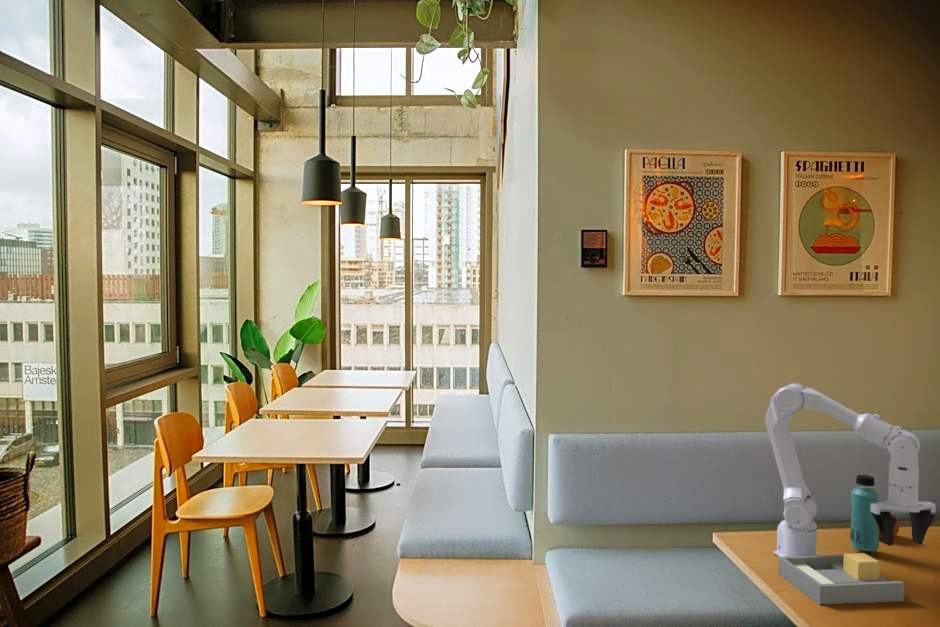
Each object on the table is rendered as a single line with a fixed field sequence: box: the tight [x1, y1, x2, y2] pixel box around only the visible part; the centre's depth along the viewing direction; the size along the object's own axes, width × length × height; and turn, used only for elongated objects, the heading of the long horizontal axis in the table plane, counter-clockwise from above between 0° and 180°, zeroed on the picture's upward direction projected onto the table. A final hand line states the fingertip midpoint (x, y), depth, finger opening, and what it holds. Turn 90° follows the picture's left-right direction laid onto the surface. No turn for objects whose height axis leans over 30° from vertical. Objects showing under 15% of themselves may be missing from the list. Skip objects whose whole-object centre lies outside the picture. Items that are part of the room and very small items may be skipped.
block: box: [843, 552, 880, 580], centre depth 150 cm, size 5×5×4 cm
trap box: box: [777, 554, 905, 605], centre depth 149 cm, size 16×19×4 cm
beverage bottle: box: [849, 474, 880, 552], centre depth 169 cm, size 6×7×20 cm
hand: (902, 543), depth 150 cm, fingers open, 7 cm apart
